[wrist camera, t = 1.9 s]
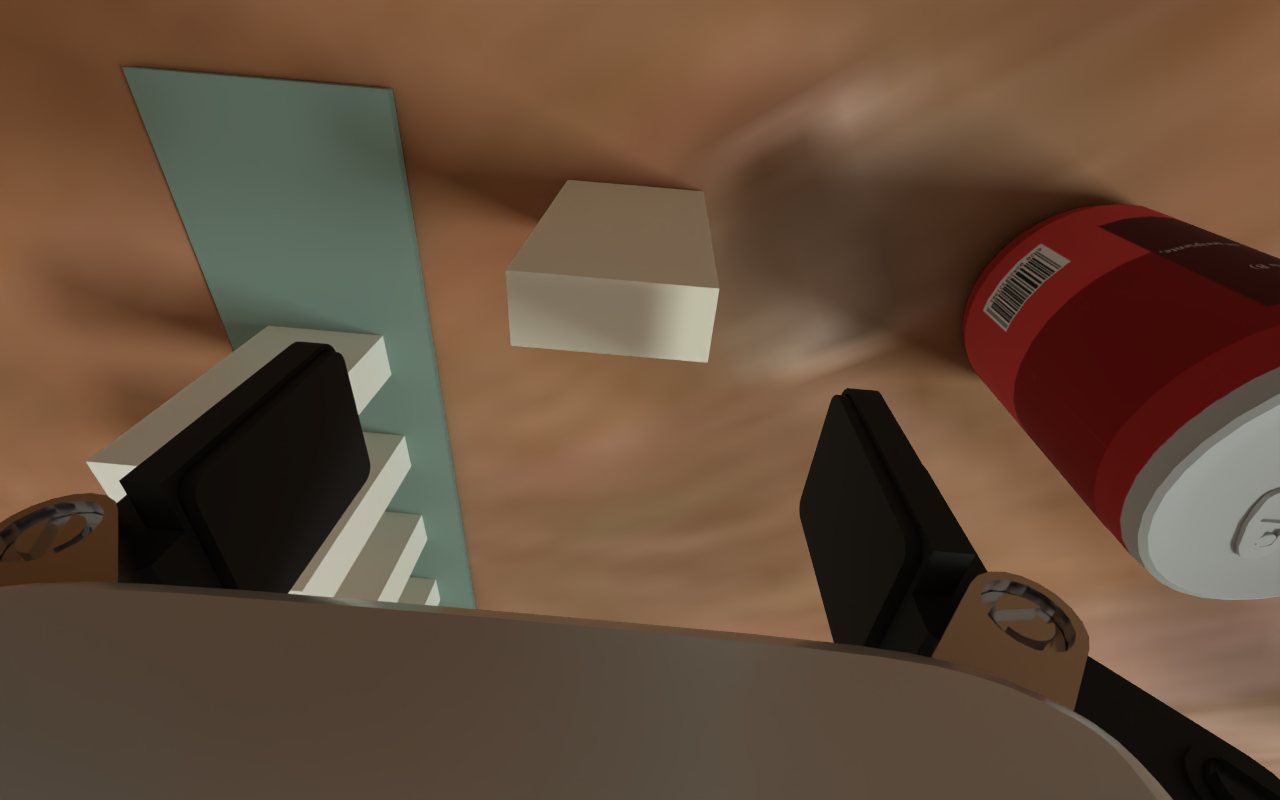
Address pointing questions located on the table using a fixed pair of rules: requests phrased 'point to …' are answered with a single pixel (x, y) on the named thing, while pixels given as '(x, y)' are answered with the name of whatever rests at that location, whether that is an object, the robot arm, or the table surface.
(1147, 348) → the canned food
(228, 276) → the plate
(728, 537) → the table surface
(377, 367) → the domino
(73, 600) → the robot arm
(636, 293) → the domino
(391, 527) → the domino
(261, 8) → the table surface
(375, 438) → the domino
